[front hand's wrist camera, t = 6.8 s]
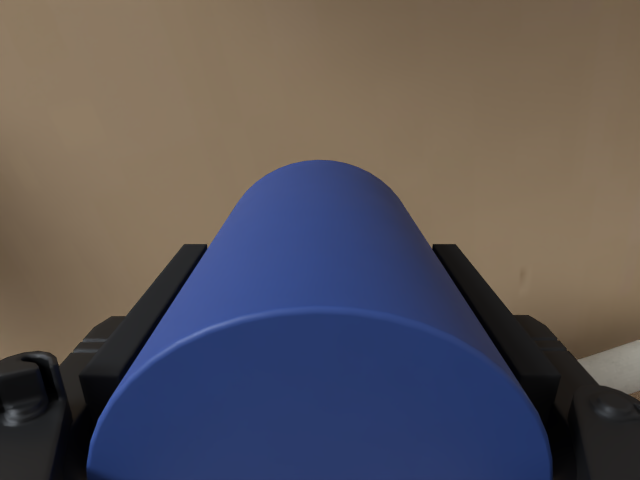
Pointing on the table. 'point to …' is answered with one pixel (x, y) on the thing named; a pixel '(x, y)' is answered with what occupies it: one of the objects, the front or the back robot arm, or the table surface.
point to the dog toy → (616, 367)
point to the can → (319, 354)
